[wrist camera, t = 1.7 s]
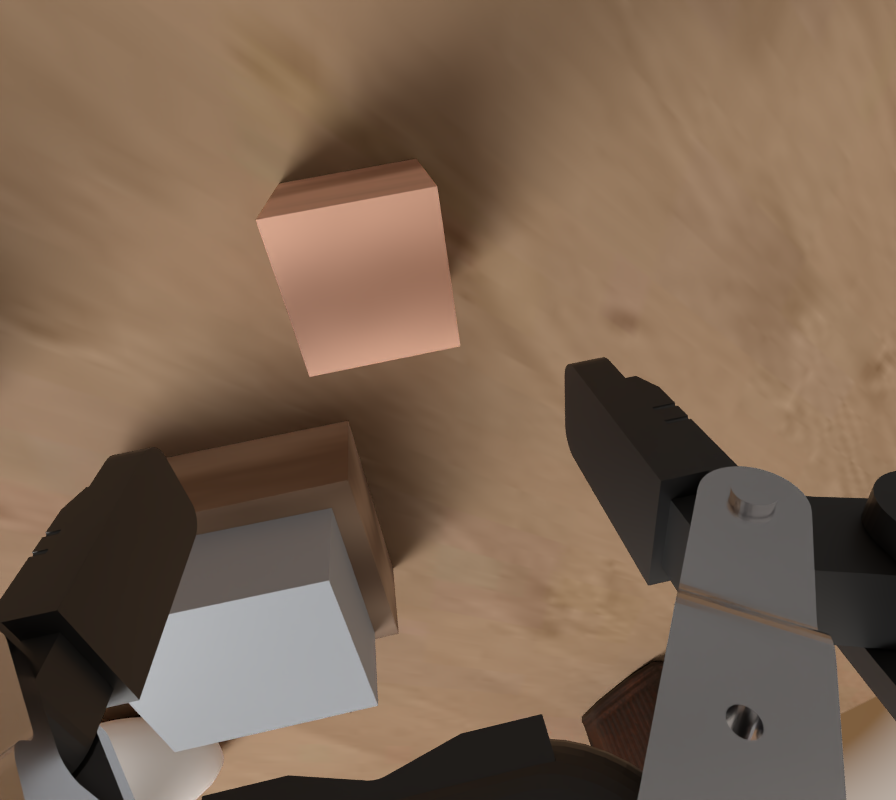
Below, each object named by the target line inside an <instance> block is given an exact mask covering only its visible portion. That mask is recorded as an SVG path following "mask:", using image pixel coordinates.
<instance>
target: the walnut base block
mask: <svg viewBox="0 0 896 800" xmlns="http://www.w3.org/2000/svg"><path fill="white" fill-rule="evenodd" d="M167 460H168V462H169V464H170V465H171V467H172V469H173V471H174V472H175V474H176V476H177V478H178V479H179V481H180V483H181V485H182V486H183V488H184V490H185V492H186V494H187V495H188V497H189V499H190V501H191V502H192V504H193V506H194V509H195V513H196V517H197V533H196V535H200V534H205V533H210V532H214V531H219V530H224V529H229V528H234V527H239V526H244V525H249V524H254V523H259V522H264V521H269V520H274V519H279V518H284V517H289V516H294V515H299V514H304V513H309V512H314V511H319V510H324V509H329V508H332V510H333V513H334V516H335V519H336V522H337V525H338V528H339V530H340V533H341V536H342V539H343V542H344V545H345V548H346V551H347V554H348V557H349V560H350V562H351V565H352V568H353V571H354V574H355V577H356V580H357V583H358V586H359V589H360V591H361V594H362V597H363V600H364V603H365V606H366V609H367V612H368V615H369V618H370V621H371V623H372V626H373V629H374V632H375V639H377V638H382V637H386V636H391V635H395V634H399V633H398V621H397V610H396V598H395V586H394V575H393V567H392V564H391V561H390V557H389V554H388V551H387V547H386V544H385V541H384V537H383V534H382V531H381V527H380V524H379V521H378V517H377V514H376V511H375V508H374V504H373V501H372V498H371V494H370V491H369V488H368V484H367V481H366V478H365V474H364V471H363V468H362V464H361V461H360V458H359V455H358V451H357V448H356V445H355V441H354V438H353V435H352V431H351V428H350V425H349V421H344V422H339V423H334V424H329V425H325V426H320V427H315V428H310V429H305V430H300V431H295V432H290V433H285V434H280V435H275V436H270V437H265V438H261V439H256V440H251V441H246V442H241V443H236V444H231V445H226V446H221V447H216V448H211V449H206V450H202V451H197V452H192V453H187V454H182V455H177V456H172V457H167Z"/></svg>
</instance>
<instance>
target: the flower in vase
mask: <svg viewBox="0 0 896 800" xmlns="http://www.w3.org/2000/svg"><path fill="white" fill-rule="evenodd" d="M99 726H101V727H102V728H103V729H104V730H105V731H106V733H107V734H108V736H109V738H110V741H111V743H112V746H113V748H114V750H115V753H116V755H117V758H118V760H119V762H120V765H121V767H122V770H123V772H124V774H125V777H126V779H127V782H128V784H129V786H130V789H131V791H132V794H133V796H134V798H135V800H196V799H197V798H198V797H199V796H200V795H201V794H202V793H203V792H204V791H205V790H206V789H207V788H208V787H209V786H211V785H212V783H213V782H214V781H215V779H216V777H217V775H218V773H219V772H220V770H221V768H222V766H223V762H224V755H223V752H222V749H221V747H220V745H219V743H213V744H209V745H204V746H200V747H196V748H191V749H187V750H183V751H178V752H174V751H173V750H172V749H171V748H170V747H169V745H168V744H167V743H166V742H165V741H164V740H163V739H162V738H161V737H160V736H159V735H158V734H157V733H156V732H155V731H154V730H153V728H152V727H151V726H150V725H149V724H148V723H147V722H146V721H145V720H144V719H143V718H142V717H136V718H125V719H117V720H112V721H107V722H104V723H100V725H99Z"/></svg>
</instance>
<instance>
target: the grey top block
mask: <svg viewBox="0 0 896 800" xmlns="http://www.w3.org/2000/svg"><path fill="white" fill-rule="evenodd" d="M129 704H130V705H131V706H132V707H133V708H134V709H135V710H136V711H137V712H138V714H139V715H140V716H141V717H142V718H143V719H144V720H145V721H146V722H147V723H148V724H149V725H150V726H151V727H152V728H153V730H154V731H155V732H156V733H157V734H158V735H159V736H160V737H161V738H162V739H163V740H164V741H165V742H166V743H167V744H168V745H169V747H170V748H171V749H172V750H173V751H174V752H178V751H183V750H187V749H191V748H196V747H200V746H204V745H209V744H213V743H218V742H222V741H226V740H231V739H235V738H239V737H244V736H248V735H252V734H257V733H261V732H265V731H270V730H274V729H278V728H283V727H287V726H291V725H296V724H300V723H305V722H309V721H313V720H318V719H322V718H326V717H331V716H335V715H339V714H344V713H348V712H352V711H357V710H361V709H365V708H370V707H374V706H378V694H377V672H376V651H375V632H374V629H373V626H372V623H371V621H370V618H369V615H368V612H367V609H366V606H365V603H364V600H363V597H362V594H361V591H360V589H359V586H358V583H357V580H356V577H355V574H354V571H353V568H352V565H351V562H350V560H349V557H348V554H347V551H346V548H345V545H344V542H343V539H342V536H341V533H340V530H339V528H338V525H337V522H336V519H335V516H334V513H333V510H332V508H329V509H324V510H319V511H314V512H309V513H304V514H299V515H294V516H289V517H284V518H279V519H274V520H269V521H264V522H259V523H254V524H249V525H244V526H239V527H234V528H229V529H224V530H219V531H214V532H210V533H205V534H200V535H196V537H195V540H194V543H193V546H192V549H191V552H190V555H189V558H188V561H187V563H186V566H185V569H184V572H183V575H182V578H181V581H180V584H179V587H178V590H177V593H176V595H175V598H174V601H173V604H172V607H171V610H170V613H169V616H168V619H167V622H166V624H165V627H164V630H163V633H162V636H161V639H160V642H159V645H158V648H157V651H156V654H155V656H154V659H153V662H152V665H151V668H150V671H149V674H148V677H147V680H146V683H145V685H144V688H143V691H142V694H141V697H140V700H138V701H134V702H129Z"/></svg>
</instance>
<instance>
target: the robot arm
mask: <svg viewBox="0 0 896 800" xmlns="http://www.w3.org/2000/svg"><path fill="white" fill-rule="evenodd" d="M565 428H566V436H567V441H568V445H569V448H570V451H571V453H572V456H573V458H574V459H575V461H576V463H577V464H578V466H579V468H580V470H581V471H582V473H583V475H584V476H585V478H586V480H587V482H588V483H589V485H590V487H591V488H592V490H593V492H594V494H595V495H596V497H597V499H598V500H599V502H600V504H601V506H602V507H603V509H604V511H605V512H606V514H607V516H608V518H609V519H610V521H611V523H612V524H613V526H614V528H615V529H616V531H617V533H618V535H619V536H620V538H621V540H622V541H623V543H624V545H625V547H626V548H627V550H628V552H629V553H630V555H631V557H632V559H633V560H634V562H635V564H636V565H637V567H638V569H639V571H640V572H641V574H642V576H643V577H644V579H645V581H646V583H647V584H648V585H653V584H657V583H661V582H666V581H670V580H671V582H672V584H673V585H674V587H675V588H676V590H677V591H678V592H677V596H676V602H675V607H674V612H673V617H672V622H671V628H670V633H669V638H668V643H667V648H666V654H665V659H664V664H663V669H662V674H661V680H660V685H659V690H658V695H657V700H656V706H655V711H654V716H653V721H652V727H651V732H650V737H649V742H648V747H647V753H646V758H645V763H644V768H643V771H642V770H640V769H639V768H637V767H636V766H634V765H632V764H631V763H629V762H627V761H625V760H623V759H621V758H619V757H617V756H615V755H613V754H611V753H609V752H607V751H604V750H601V749H598V748H595V747H592V746H589V745H586V744H581V743H577V742H572V741H567V740H555V739H549V736H548V733H547V729H546V726H545V723H544V719H543V716H542V714H540V715H536V716H532V717H528V718H524V719H520V720H516V721H511V722H507V723H503V724H499V725H495V726H491V727H487V728H483V729H478V730H474V731H470V732H466V733H462V734H460V735H458V736H456V737H454V738H452V739H451V740H449V741H447V742H445V743H444V744H442V745H440V746H438V747H436V748H435V749H433V750H431V751H429V752H428V753H426V754H424V755H422V756H421V757H419V758H417V759H415V760H413V761H412V762H410V763H408V764H406V765H405V766H403V767H401V768H399V769H397V770H396V771H394V772H392V773H390V774H389V775H387V776H385V777H383V778H380V779H377V780H372V781H364V780H349V779H334V778H318V777H303V776H284V777H280V778H276V779H272V780H268V781H264V782H259V783H255V784H251V785H247V786H243V787H239V788H235V789H230V790H226V791H222V792H218V793H214V794H210V795H206V796H202V800H846V791H845V776H844V763H843V749H842V735H841V720H840V706H839V692H838V678H837V664H836V654H835V648H834V645H837V646H838V648H839V649H840V650H841V652H842V653H843V654H844V655H845V657H846V658H847V659H848V661H849V662H850V663H851V664H852V666H853V667H854V668H855V669H856V671H857V672H858V673H859V675H860V676H861V677H862V678H863V680H864V681H865V682H866V684H867V685H868V686H869V687H870V689H871V690H872V691H873V692H874V694H875V695H876V696H877V697H878V699H879V700H880V701H881V703H882V704H883V705H884V706H885V708H886V709H887V710H888V712H889V713H890V714H891V715H892V717H893V718H894V719H895V721H896V471H894V472H890V473H887V474H885V475H882V476H881V477H880V478H879V479H877V481H876V482H875V484H874V486H873V489H872V491H871V493H870V496H869V498H836V497H811V496H805V495H804V494H803V493H802V492H801V491H800V490H799V489H798V488H797V487H796V486H795V485H793V484H792V483H791V482H789V481H787V480H786V479H784V478H782V477H780V476H778V475H776V474H773V473H771V472H768V471H765V470H761V469H757V468H751V467H741V466H737V465H736V464H735V463H734V462H733V461H732V460H731V459H730V458H729V457H728V456H727V455H726V454H725V453H724V452H723V451H722V450H721V449H720V448H719V447H718V446H717V445H716V444H715V443H714V442H713V441H712V440H711V439H710V438H709V437H708V436H707V435H706V434H705V433H704V431H703V430H702V429H701V428H700V427H699V426H698V425H697V424H696V423H695V422H694V421H693V420H692V419H688V415H687V414H686V413H685V412H684V411H683V410H682V409H681V408H680V407H679V406H675V402H674V401H673V400H672V399H671V398H670V397H669V396H668V395H667V394H666V393H665V392H664V391H663V390H662V389H661V388H660V387H658V386H656V385H654V384H652V383H650V382H647V381H645V380H643V379H641V378H639V377H637V376H633V377H628V378H625V377H624V376H623V375H622V374H621V373H620V372H619V371H618V370H617V368H616V367H615V366H614V365H613V364H612V363H611V362H610V361H609V360H608V359H607V358H605V357H602V358H597V359H592V360H587V361H582V362H577V363H572V364H568V365H567V366H566V369H565ZM196 533H197V517H196V513H195V509H194V506H193V504H192V502H191V501H190V499H189V497H188V495H187V494H186V492H185V490H184V488H183V486H182V485H181V483H180V481H179V479H178V478H177V476H176V474H175V472H174V471H173V469H172V467H171V465H170V464H169V462H168V460H167V458H166V457H165V455H164V454H163V453H162V451H160V450H159V449H158V448H155V447H152V448H146V449H142V450H137V451H132V452H127V453H122V454H117V455H113V456H110V457H109V458H108V459H107V460H106V461H105V463H104V465H103V466H102V468H101V469H100V471H99V472H98V474H97V475H96V477H95V478H94V480H93V482H92V483H91V485H90V486H89V487H86V488H85V489H84V490H83V491H82V492H81V493H79V494H78V495H77V496H76V497H75V498H74V499H73V500H72V501H70V502H69V503H68V504H67V505H66V506H65V507H64V508H63V509H61V511H60V512H59V514H58V515H57V517H56V518H55V520H54V521H53V523H52V524H51V526H50V527H49V528H48V530H47V531H46V537H42V539H41V540H40V542H39V543H38V545H37V546H36V548H35V549H34V551H33V552H32V553H33V557H29V558H28V559H27V561H26V562H25V564H24V565H23V567H22V568H21V570H20V571H19V573H18V574H17V576H16V577H15V579H14V580H13V581H12V583H11V584H10V586H9V587H8V589H7V590H6V592H5V593H4V595H3V596H2V598H1V599H0V800H135V798H134V796H133V794H132V791H131V789H130V786H129V784H128V782H127V779H126V777H125V774H124V772H123V770H122V767H121V765H120V762H119V760H118V758H117V755H116V753H115V750H114V748H113V746H112V743H111V741H110V738H109V736H108V734H107V733H106V731H105V730H104V729H103V728H102V727H101V726H99V725H100V723H101V720H102V718H103V715H104V712H105V710H106V708H108V707H112V706H116V705H121V704H125V703H129V702H134V701H138V700H140V697H141V694H142V691H143V688H144V685H145V683H146V680H147V677H148V674H149V671H150V668H151V665H152V662H153V659H154V656H155V654H156V651H157V648H158V645H159V642H160V639H161V636H162V633H163V630H164V627H165V624H166V622H167V619H168V616H169V613H170V610H171V607H172V604H173V601H174V598H175V595H176V593H177V590H178V587H179V584H180V581H181V578H182V575H183V572H184V569H185V566H186V563H187V561H188V558H189V555H190V552H191V549H192V546H193V543H194V540H195V537H196Z"/></svg>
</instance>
